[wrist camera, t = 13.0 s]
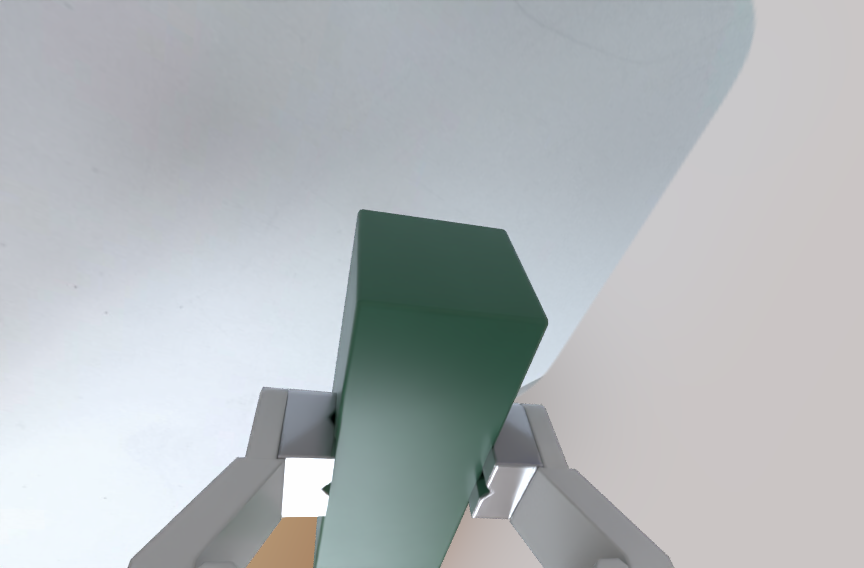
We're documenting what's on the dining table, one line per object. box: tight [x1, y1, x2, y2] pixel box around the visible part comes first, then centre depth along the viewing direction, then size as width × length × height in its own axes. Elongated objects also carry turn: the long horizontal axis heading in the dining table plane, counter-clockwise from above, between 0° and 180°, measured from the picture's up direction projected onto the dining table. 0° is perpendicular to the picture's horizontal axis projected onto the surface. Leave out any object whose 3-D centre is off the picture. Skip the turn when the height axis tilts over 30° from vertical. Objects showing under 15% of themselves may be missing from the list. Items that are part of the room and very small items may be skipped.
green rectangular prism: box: [313, 209, 548, 568], centre depth 11 cm, size 8×3×3 cm, turn 168°
